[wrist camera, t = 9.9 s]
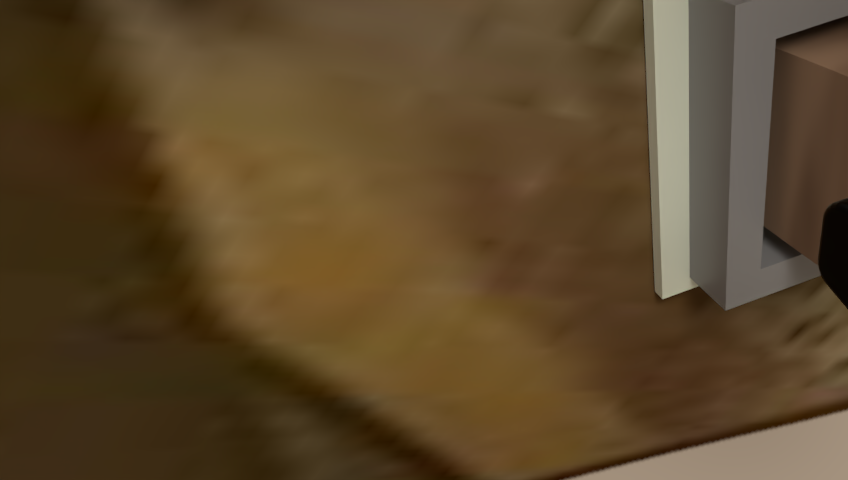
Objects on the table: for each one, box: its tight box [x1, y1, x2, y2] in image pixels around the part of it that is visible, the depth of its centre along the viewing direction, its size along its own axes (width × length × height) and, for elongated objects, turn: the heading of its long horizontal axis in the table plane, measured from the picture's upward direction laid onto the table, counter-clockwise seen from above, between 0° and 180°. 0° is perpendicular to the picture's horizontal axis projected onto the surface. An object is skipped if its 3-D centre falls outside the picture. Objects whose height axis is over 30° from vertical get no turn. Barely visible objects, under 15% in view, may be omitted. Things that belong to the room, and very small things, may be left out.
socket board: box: [643, 0, 848, 311], centre depth 21 cm, size 10×11×2 cm
